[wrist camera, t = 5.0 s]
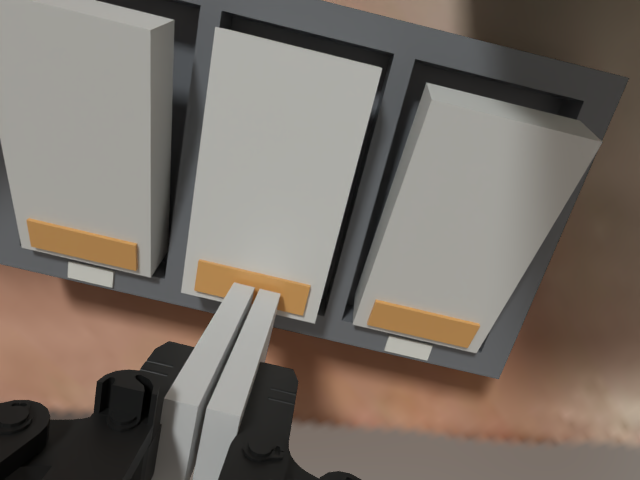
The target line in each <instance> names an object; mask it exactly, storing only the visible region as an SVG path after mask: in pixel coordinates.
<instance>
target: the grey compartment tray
mask: <svg viewBox="0 0 640 480" xmlns="http://www.w3.org/2000/svg"><path fill="white" fill-rule="evenodd" d="M97 1H101V2H105V3H109V4H113V5H117V6H121V7H125V8H129V9H133V10H137V11H141V12H145V13H149V14H153V15H157V16H161V17H165V18H169V19H173V20H175V23H174V60H173V98H172V135H171V172H170V209H169V247H168V252H167V254H166V255H165V257H164V258H163V260H162V261H161V263H160V264H159V266H158V267H157V269H156V270H155V272H154V273H153V275H152V276H151V278H150V277H146V276H142V275H137V274H133V273H129V272H124V271H120V270H116V269H111V268H107V267H103V266H98V265H94V264H90V263H86V262H81V261H77V260H73V259H68V258H64V257H60V256H55V255H51V254H47V253H43V252H38V251H34V250H30V249H25V248H22V246H21V241H20V236H19V231H18V226H17V221H16V216H15V211H14V206H13V201H12V196H11V191H10V186H9V181H8V176H7V171H6V166H5V161H4V156H3V151H2V146H1V141H0V264H2V265H7V266H11V267H15V268H20V269H24V270H28V271H33V272H37V273H41V274H46V275H50V276H54V277H59V278H63V279H67V280H72V281H76V282H80V283H85V284H89V285H93V286H98V287H102V288H106V289H111V290H115V291H119V292H124V293H128V294H132V295H137V296H141V297H145V298H149V299H154V300H158V301H162V302H167V303H171V304H175V305H180V306H184V307H188V308H193V309H197V310H201V311H206V312H210V313H214V314H215V313H216V311H217V310H218V308H219V306H220V305H221V303H222V302H220V301H215V300H211V299H207V298H202V297H198V296H194V295H189V294H185V293H181V288H182V281H183V273H184V265H185V257H186V250H187V242H188V234H189V226H190V219H191V211H192V203H193V195H194V188H195V180H196V172H197V164H198V157H199V149H200V141H201V133H202V126H203V118H204V110H205V103H206V95H207V87H208V79H209V72H210V64H211V56H212V48H213V41H214V33H215V27H219V28H224V29H229V30H233V31H237V32H241V33H245V34H249V35H253V36H257V37H261V38H265V39H269V40H273V41H277V42H281V43H285V44H289V45H293V46H297V47H301V48H306V49H310V50H314V51H318V52H322V53H326V54H330V55H334V56H338V57H342V58H346V59H350V60H354V61H358V62H362V63H366V64H370V65H374V66H378V67H381V68H382V72H381V76H380V79H379V83H378V87H377V91H376V94H375V98H374V102H373V106H372V110H371V113H370V117H369V121H368V125H367V128H366V132H365V136H364V140H363V144H362V147H361V151H360V155H359V159H358V162H357V166H356V170H355V174H354V178H353V181H352V185H351V189H350V193H349V197H348V200H347V204H346V208H345V212H344V215H343V219H342V223H341V227H340V231H339V234H338V238H337V242H336V246H335V249H334V253H333V257H332V261H331V265H330V268H329V272H328V276H327V280H326V283H325V287H324V291H323V295H322V299H321V302H320V306H319V310H318V314H317V317H316V321H315V324H314V323H310V322H306V321H301V320H297V319H293V318H289V317H284V316H280V315H276V316H275V320H274V325H273V327H275V328H279V329H284V330H288V331H292V332H297V333H301V334H305V335H310V336H314V337H318V338H323V339H327V340H331V341H336V342H340V343H344V344H348V345H353V346H357V347H361V348H366V349H370V350H374V351H379V352H383V353H387V354H392V355H396V356H400V357H405V358H409V359H413V360H418V361H422V362H426V363H431V364H435V365H439V366H444V367H448V368H452V369H457V370H461V371H465V372H470V373H474V374H478V375H483V376H487V377H491V378H496V379H499V377H500V375H501V373H502V370H503V368H504V366H505V363H506V361H507V359H508V356H509V354H510V352H511V350H512V347H513V345H514V343H515V340H516V338H517V336H518V333H519V331H520V329H521V326H522V324H523V322H524V320H525V317H526V315H527V313H528V310H529V308H530V306H531V303H532V301H533V299H534V296H535V294H536V292H537V290H538V287H539V285H540V283H541V280H542V278H543V276H544V273H545V271H546V269H547V266H548V264H549V262H550V260H551V257H552V255H553V253H554V250H555V248H556V246H557V243H558V241H559V239H560V237H561V234H562V232H563V230H564V227H565V225H566V223H567V220H568V218H569V216H570V213H571V211H572V209H573V207H574V204H575V202H576V200H577V197H578V195H579V193H580V190H581V188H582V186H583V183H584V181H585V179H586V177H587V174H588V172H589V170H590V167H591V165H592V163H593V160H594V158H595V156H596V154H595V156H594V158H593V159H592V161H591V163H590V164H589V166H588V168H587V169H586V171H585V173H584V174H583V176H582V178H581V179H580V181H579V183H578V184H577V186H576V188H575V189H574V191H573V193H572V194H571V196H570V198H569V199H568V201H567V203H566V204H565V206H564V208H563V209H562V211H561V213H560V214H559V216H558V218H557V219H556V221H555V223H554V224H553V226H552V228H551V229H550V231H549V233H548V235H547V236H546V238H545V240H544V241H543V243H542V245H541V246H540V248H539V250H538V251H537V253H536V255H535V256H534V258H533V260H532V261H531V263H530V265H529V266H528V268H527V270H526V271H525V273H524V275H523V276H522V278H521V280H520V281H519V283H518V285H517V286H516V288H515V290H514V291H513V293H512V295H511V296H510V298H509V300H508V301H507V303H506V305H505V306H504V308H503V310H502V311H501V313H500V315H499V316H498V318H497V320H496V321H495V323H494V325H493V326H492V328H491V330H490V331H489V333H488V335H487V336H486V338H485V340H484V341H483V343H482V345H481V346H480V348H479V350H478V351H477V353H473V352H468V351H464V350H460V349H456V348H451V347H447V346H443V345H438V344H434V343H430V342H425V341H421V340H417V339H413V338H408V337H404V336H400V335H395V334H391V333H387V332H382V331H378V330H374V329H370V328H365V327H361V326H357V325H353V312H354V298H355V292H356V289H357V286H358V283H359V280H360V277H361V274H362V272H363V269H364V266H365V263H366V260H367V257H368V254H369V251H370V248H371V245H372V242H373V239H374V236H375V233H376V230H377V227H378V224H379V221H380V218H381V215H382V212H383V209H384V206H385V203H386V201H387V198H388V195H389V192H390V189H391V186H392V183H393V180H394V177H395V174H396V171H397V168H398V165H399V162H400V159H401V156H402V153H403V150H404V147H405V144H406V141H407V138H408V135H409V132H410V130H411V127H412V124H413V121H414V118H415V115H416V112H417V109H418V106H419V103H420V100H421V97H422V94H423V91H424V88H425V85H426V82H427V83H431V84H435V85H439V86H443V87H447V88H451V89H455V90H459V91H463V92H467V93H471V94H475V95H479V96H483V97H487V98H491V99H495V100H499V101H503V102H507V103H511V104H515V105H519V106H523V107H527V108H531V109H535V110H539V111H543V112H547V113H551V114H555V115H559V116H563V117H567V118H572V119H576V120H580V121H581V122H582V123H583V124H584V125H585V126H586V127H587V128H588V129H589V130H590V131H591V132H593V133H594V134H595V135H596V136H597V137H598V138H599V139H600V140H601V141H602V140H603V137H604V135H605V133H606V130H607V128H608V126H609V123H610V121H611V119H612V117H613V114H614V112H615V110H616V107H617V105H618V103H619V100H620V98H621V96H622V93H623V91H624V89H625V87H626V84H627V82H628V80H629V78H627V77H623V76H619V75H615V74H611V73H607V72H603V71H599V70H595V69H591V68H588V67H584V66H580V65H576V64H572V63H568V62H564V61H560V60H556V59H552V58H548V57H544V56H540V55H536V54H532V53H528V52H524V51H520V50H516V49H512V48H508V47H504V46H500V45H496V44H492V43H488V42H484V41H480V40H476V39H472V38H468V37H464V36H461V35H457V34H453V33H449V32H445V31H441V30H437V29H433V28H429V27H425V26H421V25H417V24H413V23H409V22H405V21H401V20H397V19H393V18H389V17H385V16H381V15H377V14H373V13H369V12H365V11H361V10H357V9H353V8H349V7H345V6H341V5H337V4H333V3H330V2H326V1H322V0H97Z"/></svg>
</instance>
